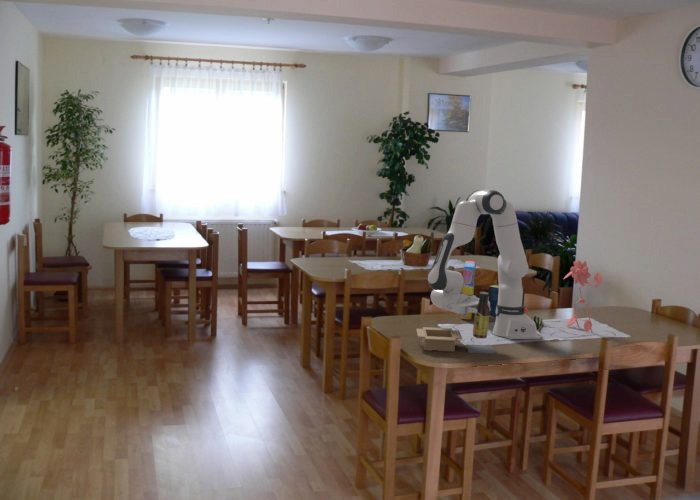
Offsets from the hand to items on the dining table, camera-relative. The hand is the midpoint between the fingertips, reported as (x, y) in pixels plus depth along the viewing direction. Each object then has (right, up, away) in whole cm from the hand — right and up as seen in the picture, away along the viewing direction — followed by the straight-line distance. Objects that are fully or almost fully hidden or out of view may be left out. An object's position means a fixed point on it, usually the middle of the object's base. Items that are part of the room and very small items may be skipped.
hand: (483, 310), depth 321 cm
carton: (-19, -16, +6) cm, 26 cm away
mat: (-1, -17, +3) cm, 18 cm away
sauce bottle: (-1, -12, +3) cm, 12 cm away
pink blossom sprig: (+52, -13, +43) cm, 69 cm away
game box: (+3, -8, +67) cm, 67 cm away
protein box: (+23, -9, +67) cm, 71 cm away
